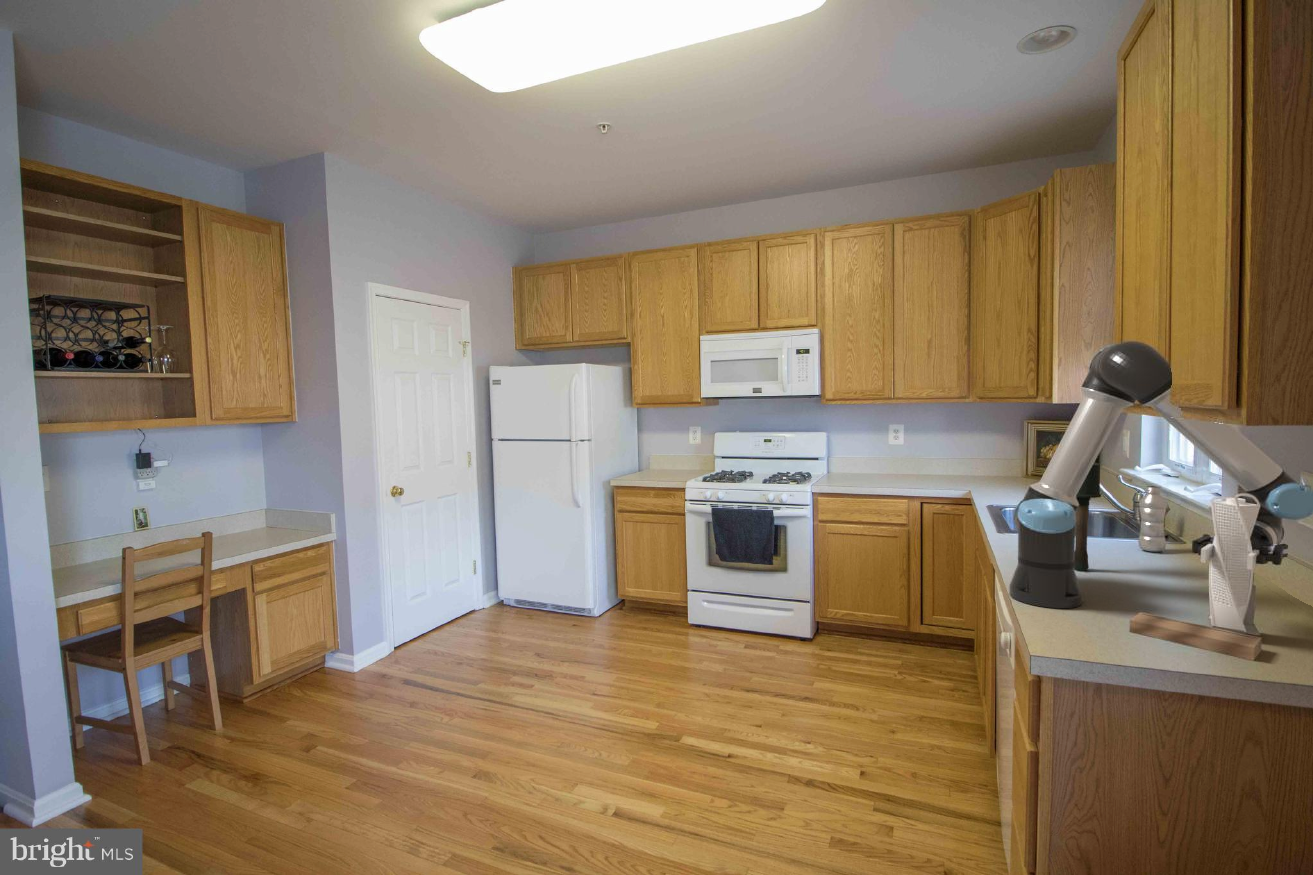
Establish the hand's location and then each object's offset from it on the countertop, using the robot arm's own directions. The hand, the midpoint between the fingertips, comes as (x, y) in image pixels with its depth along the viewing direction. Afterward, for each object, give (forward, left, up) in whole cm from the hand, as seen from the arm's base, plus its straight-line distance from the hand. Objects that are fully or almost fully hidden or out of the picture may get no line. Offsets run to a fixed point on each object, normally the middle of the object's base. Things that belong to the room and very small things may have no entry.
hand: (1226, 559), depth 124 cm
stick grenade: (-18, +47, -17) cm, 53 cm away
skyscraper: (+2, +5, -15) cm, 16 cm away
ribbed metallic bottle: (+4, +78, -17) cm, 80 cm away
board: (-5, -2, -17) cm, 18 cm away
